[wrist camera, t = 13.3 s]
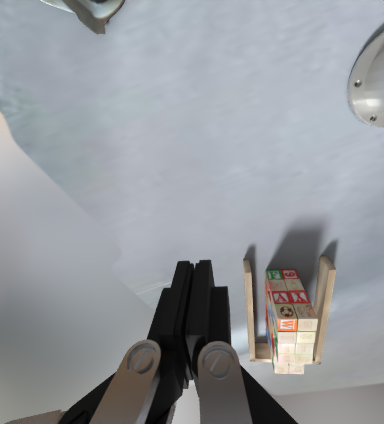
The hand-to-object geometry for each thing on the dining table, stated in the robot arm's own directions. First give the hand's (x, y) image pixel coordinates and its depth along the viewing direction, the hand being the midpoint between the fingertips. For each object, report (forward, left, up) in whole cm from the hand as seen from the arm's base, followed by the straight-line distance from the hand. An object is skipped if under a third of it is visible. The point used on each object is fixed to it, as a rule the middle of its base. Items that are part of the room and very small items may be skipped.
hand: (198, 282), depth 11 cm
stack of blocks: (-11, +36, -30) cm, 48 cm away
